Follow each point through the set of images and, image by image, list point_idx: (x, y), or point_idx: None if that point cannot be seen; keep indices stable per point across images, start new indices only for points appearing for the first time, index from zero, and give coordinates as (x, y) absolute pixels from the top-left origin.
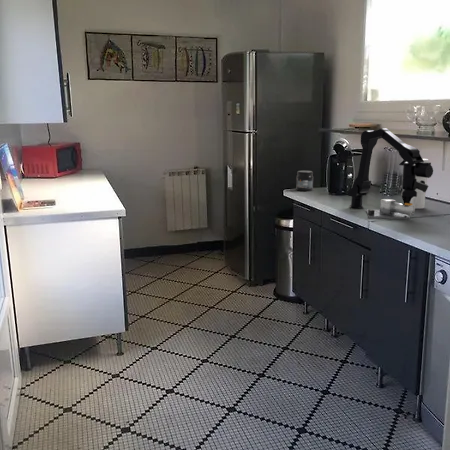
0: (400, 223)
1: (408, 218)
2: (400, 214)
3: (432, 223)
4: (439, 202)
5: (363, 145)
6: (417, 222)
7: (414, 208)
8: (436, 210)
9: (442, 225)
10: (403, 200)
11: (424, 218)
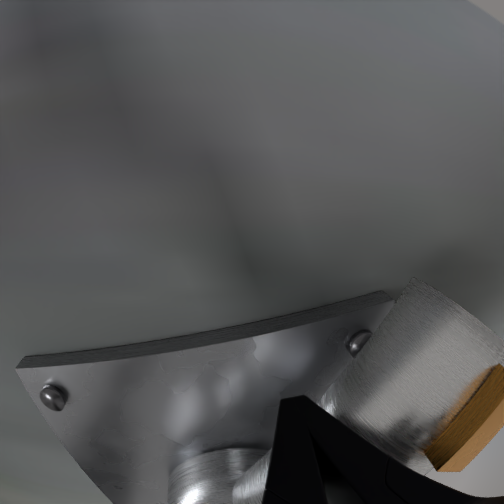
0: (496, 331)
1: (387, 305)
2: (250, 402)
3: (470, 81)
4: None
5: None
6: (472, 211)
7: (453, 303)
8: None
9: (492, 31)
10: None
11: (261, 113)
